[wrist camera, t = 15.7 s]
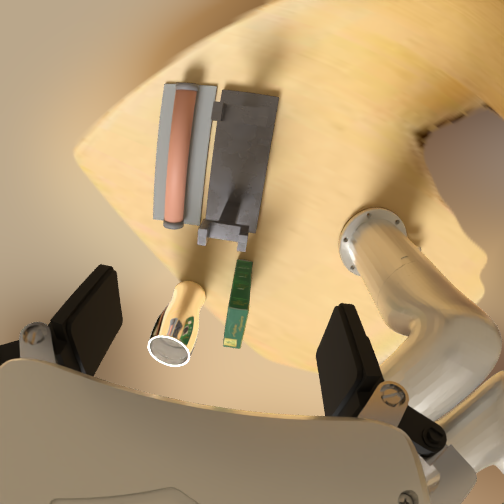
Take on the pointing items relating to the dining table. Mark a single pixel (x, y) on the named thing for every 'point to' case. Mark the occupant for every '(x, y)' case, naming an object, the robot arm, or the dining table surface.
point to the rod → (179, 154)
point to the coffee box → (238, 305)
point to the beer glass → (178, 325)
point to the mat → (196, 152)
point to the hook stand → (238, 165)
